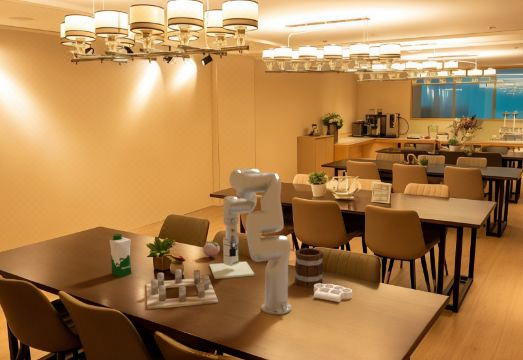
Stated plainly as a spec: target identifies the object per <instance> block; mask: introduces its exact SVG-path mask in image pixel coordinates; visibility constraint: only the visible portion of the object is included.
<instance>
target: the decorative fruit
mask: <svg viewBox="0 0 523 360" xmlns="http://www.w3.org/2000/svg"><path fill="white" fill-rule="evenodd" d="M212 241H213V240H209V241H205V242H204V245H203V253H204V254H205V255H206V256H207V257H210V258H211V259H212V258H214V257H216V256H217V255H218V254H219V253H220V251H221V248H220V244H219V243H217V242H216V241H214V242H212Z"/></svg>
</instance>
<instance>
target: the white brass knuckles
mask: <svg viewBox="0 0 523 360" xmlns="http://www.w3.org/2000/svg"><path fill="white" fill-rule="evenodd" d="M313 298H315V299H321V300H326V301H330V302H335V303H340V302H342V300H350V299H352V298H353V290H352V289H351V288H348V287H344V286H343V285H336V284H333V283H322V284H321V283H318V284H315V285H314V287H313Z"/></svg>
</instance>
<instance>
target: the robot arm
mask: <svg viewBox="0 0 523 360" xmlns="http://www.w3.org/2000/svg"><path fill="white" fill-rule="evenodd" d="M228 182H229V184H230V186H231V187H232V188H233V189H234V190H235V191H236V195H238V197H239V198H238V197H237V196H234V195H227V196H224V197H223V201H222V202H223V206H222V207H223V224H224V225H225V237H227V240H228V243H229V244H230V249H229V255H230V257H232V256H236V246H235V242H236V243H239V236H238V224H239V214H240V215H241V214H247V216H246V219H245V230H246V239H247V246H248V252H249V256H250V258H251V260H252V261H253V262H266V261H267V263H266V266H265V271H264V273H265V276H264V279H265V280H264V281H265V282H264V284H265V285H264V286H265V287H264V288H265V289H264V291H265V293H264V299H265V300H264V303H262V304H261V310H262V311H263V312H264V313H266V314H270V315H286V314H288V313H289V312H291V311H292V304H290V303H289V260H290V255H291V250H292V244H291V240H290V239H289V238H288V236H285V235H270V236H263V237H262V235H263V234H272V233H273V234H274V233H279V232H281V231H282V230H283V229H284V215H283V214H284V213H283V208H282V201H281V192H282V181H281V178H280V176H279V174H278V173H275V172H272V171H265V172H262V171H260V170H259V169H257V168H237V169H234V170H232V171H231V172H230V175H229V181H228ZM257 193H262V195H261V198H260V199H259V200H260V210H257V211H256V210H255V211H254V209H255V207H256V206H257V203H258V197H257ZM231 239H232V243H231V242H230V241H231ZM231 244H232V245H231Z"/></svg>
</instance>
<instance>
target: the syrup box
mask: <svg viewBox="0 0 523 360" xmlns="http://www.w3.org/2000/svg"><path fill="white" fill-rule="evenodd" d="M230 242H231V243H232V239H231V241H230ZM222 244H223V245H222V247H223V248H222V250H223V263H224V264H225V265H229V266H233V265H236V264H238V263H239V262H240V254H239V253H240V252H239V248H240V247H239V242H238V243H236V242H235V246H236V256H232V257H230V255H229V249H230V244H229V243H228V240H227V237H226V236H223V237H222ZM231 245H232V244H231Z"/></svg>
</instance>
